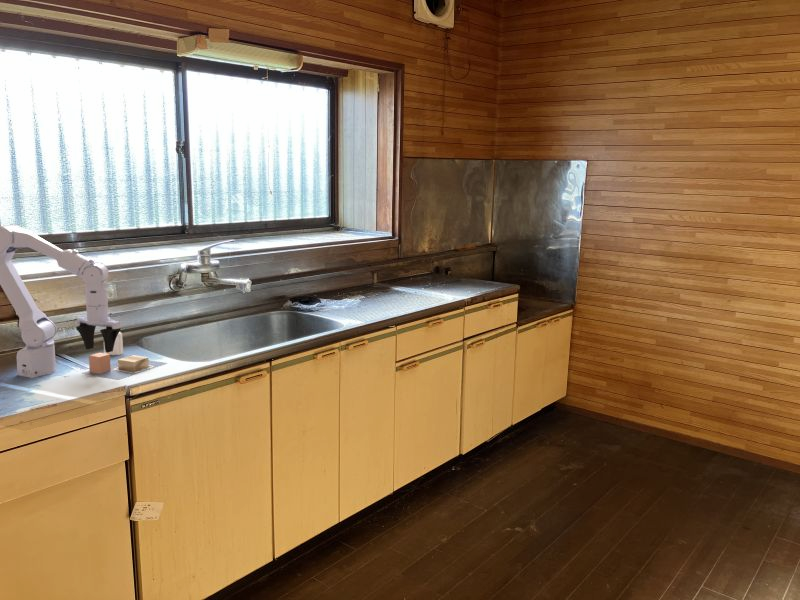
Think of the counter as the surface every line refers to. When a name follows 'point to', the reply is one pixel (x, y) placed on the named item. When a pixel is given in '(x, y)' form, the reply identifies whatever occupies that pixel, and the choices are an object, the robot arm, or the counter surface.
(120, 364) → the base block
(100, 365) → the top block
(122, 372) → the board
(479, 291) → the counter surface
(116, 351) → the eye dropper bottle
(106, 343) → the robot arm
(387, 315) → the counter surface
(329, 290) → the counter surface
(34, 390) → the counter surface
